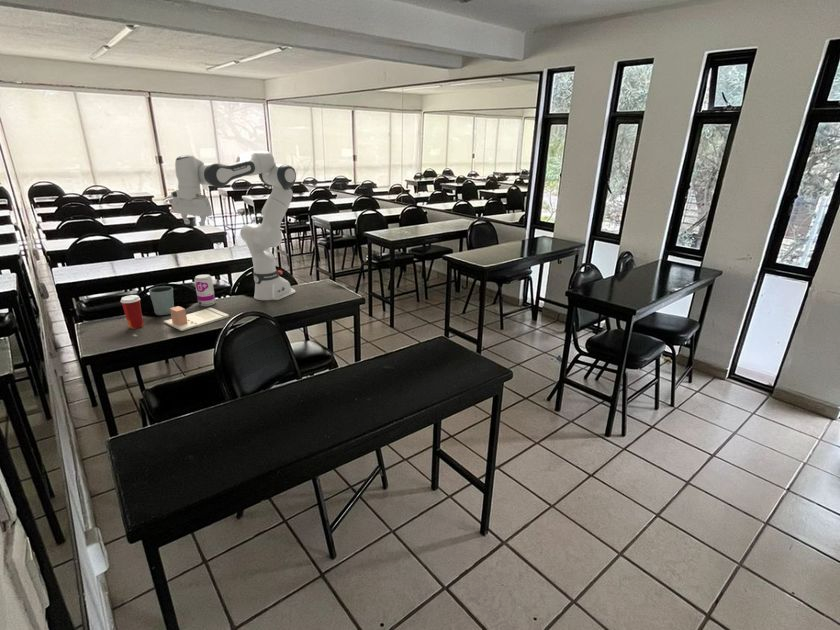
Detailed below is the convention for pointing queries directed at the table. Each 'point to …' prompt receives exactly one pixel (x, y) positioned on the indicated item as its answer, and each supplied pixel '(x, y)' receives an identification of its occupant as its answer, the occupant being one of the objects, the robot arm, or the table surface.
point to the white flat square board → (206, 316)
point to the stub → (179, 319)
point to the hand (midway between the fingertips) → (194, 224)
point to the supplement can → (204, 290)
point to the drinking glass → (162, 299)
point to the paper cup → (132, 311)
